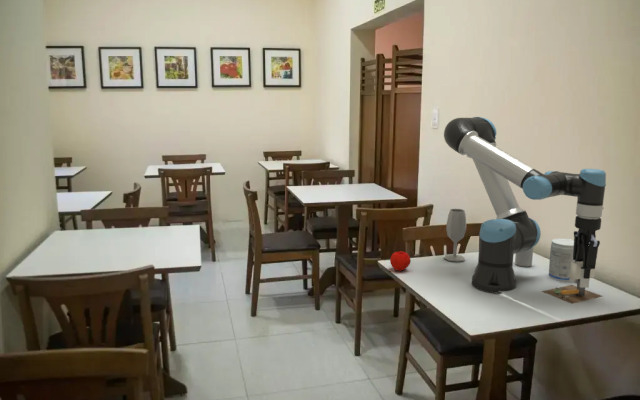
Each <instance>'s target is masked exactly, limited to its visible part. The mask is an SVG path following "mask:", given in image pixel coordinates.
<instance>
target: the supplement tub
mask: <svg viewBox="0 0 640 400" xmlns="http://www.w3.org/2000/svg"><path fill="white" fill-rule="evenodd" d="M573 249H574V239H570V238H553V239H552V240H551V243H550V253H549V262H548V263H549V265H548V277H549V278H550V279H552V280H555V281H559V282H564V283H567V282H568V283H569V282H570V283H572V282H574V279H571V278H570V270H571V262H575V260H573Z"/></svg>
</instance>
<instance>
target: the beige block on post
mask: <svg viewBox="0 0 640 400" xmlns="http://www.w3.org/2000/svg"><path fill="white" fill-rule="evenodd" d="M596 265H597V264H596ZM596 265H595V269H591V271H590V279H594V278H595V274H596ZM581 267H583V261H580V262H571V270H570V278H571V279H577V283H576V287H577V288H576V289H571V290H561V294H574V293H576V294H577V295H580V296H584V295H585V290H586V288H583V287H579V285H580V275H581Z"/></svg>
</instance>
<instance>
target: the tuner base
mask: <svg viewBox="0 0 640 400" xmlns="http://www.w3.org/2000/svg"><path fill="white" fill-rule="evenodd" d="M576 288H577V285H573V284H569V285H565V286H560V287H558V286H557V287H555V288H551V289H547V290H542V291H541V292H542V293H544V294H547V295H549V296H552V297H555V298H557V299H559V300H562V301H564V302H567V303H569V304H572V305H573V304H577V303H581V302H585V301H590V300H594V299H598V298H602V297H603V295H601V294H598V293H596V292H592V291H590V290H587V289H585V295H584V296H580V295H577V294H576V293H574V294H561V290H571V289H576Z"/></svg>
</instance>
